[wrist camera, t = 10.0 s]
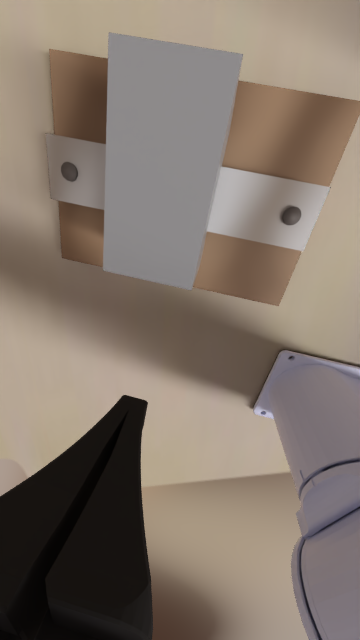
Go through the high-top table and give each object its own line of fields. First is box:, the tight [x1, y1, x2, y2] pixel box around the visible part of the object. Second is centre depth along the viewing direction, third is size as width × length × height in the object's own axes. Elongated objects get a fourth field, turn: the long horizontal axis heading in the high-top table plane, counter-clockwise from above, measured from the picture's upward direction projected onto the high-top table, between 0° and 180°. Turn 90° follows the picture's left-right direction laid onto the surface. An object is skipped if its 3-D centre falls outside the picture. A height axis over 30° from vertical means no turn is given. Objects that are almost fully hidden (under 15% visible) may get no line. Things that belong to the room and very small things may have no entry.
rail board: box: [46, 49, 360, 306], centre depth 14 cm, size 18×12×3 cm, turn 79°
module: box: [103, 32, 243, 290], centre depth 11 cm, size 4×8×6 cm, turn 169°
